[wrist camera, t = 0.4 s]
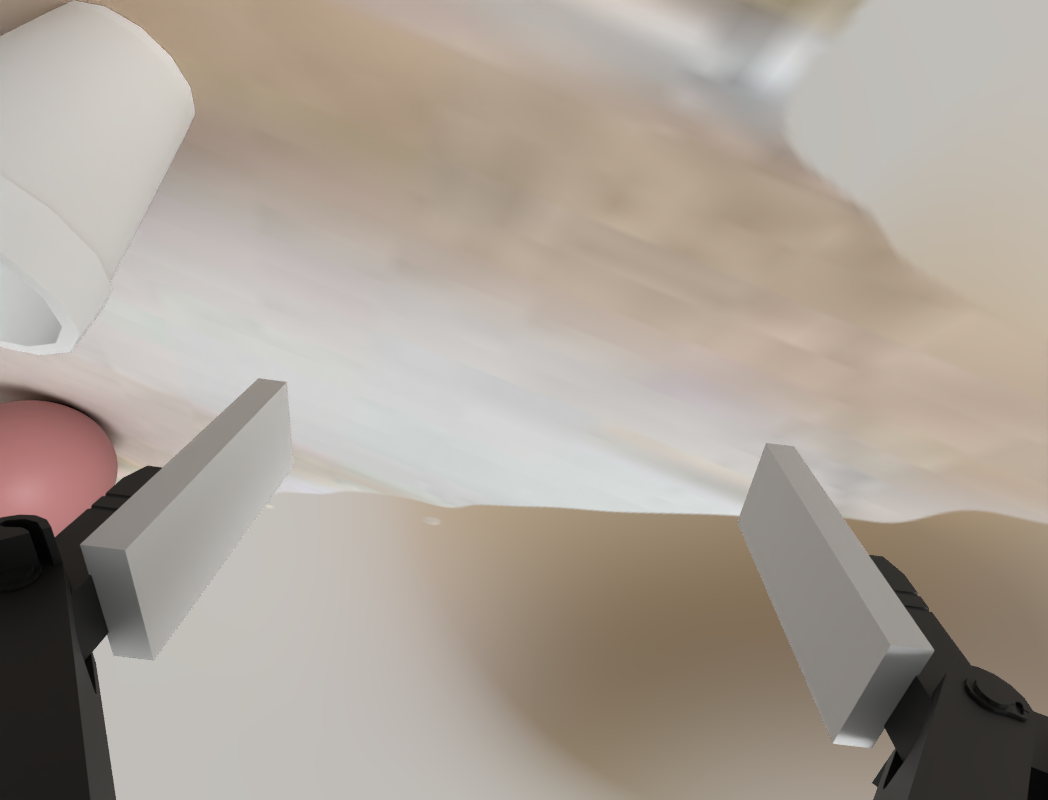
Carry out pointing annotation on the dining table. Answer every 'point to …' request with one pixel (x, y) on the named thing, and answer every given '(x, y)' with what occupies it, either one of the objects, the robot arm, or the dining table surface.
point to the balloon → (52, 462)
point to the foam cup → (77, 164)
